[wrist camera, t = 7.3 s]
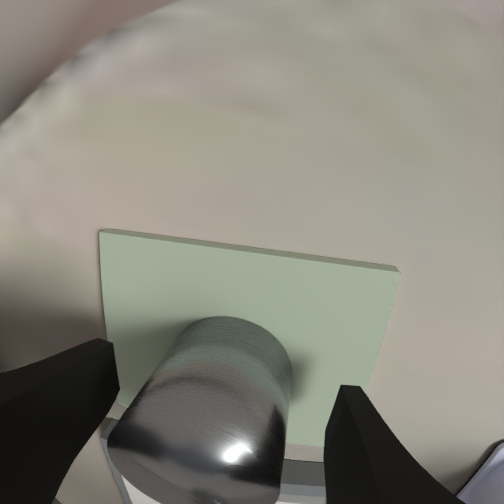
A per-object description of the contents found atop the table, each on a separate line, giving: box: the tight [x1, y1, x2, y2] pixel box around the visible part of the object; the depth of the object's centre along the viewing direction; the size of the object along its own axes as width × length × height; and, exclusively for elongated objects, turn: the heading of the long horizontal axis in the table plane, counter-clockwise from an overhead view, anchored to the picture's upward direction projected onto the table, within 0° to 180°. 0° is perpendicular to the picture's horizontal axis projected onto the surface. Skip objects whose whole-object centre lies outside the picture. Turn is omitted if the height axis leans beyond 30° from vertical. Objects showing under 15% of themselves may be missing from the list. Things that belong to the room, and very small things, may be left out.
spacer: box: [107, 316, 292, 504], centre depth 9 cm, size 4×4×5 cm
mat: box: [99, 229, 401, 447], centre depth 11 cm, size 10×8×1 cm
